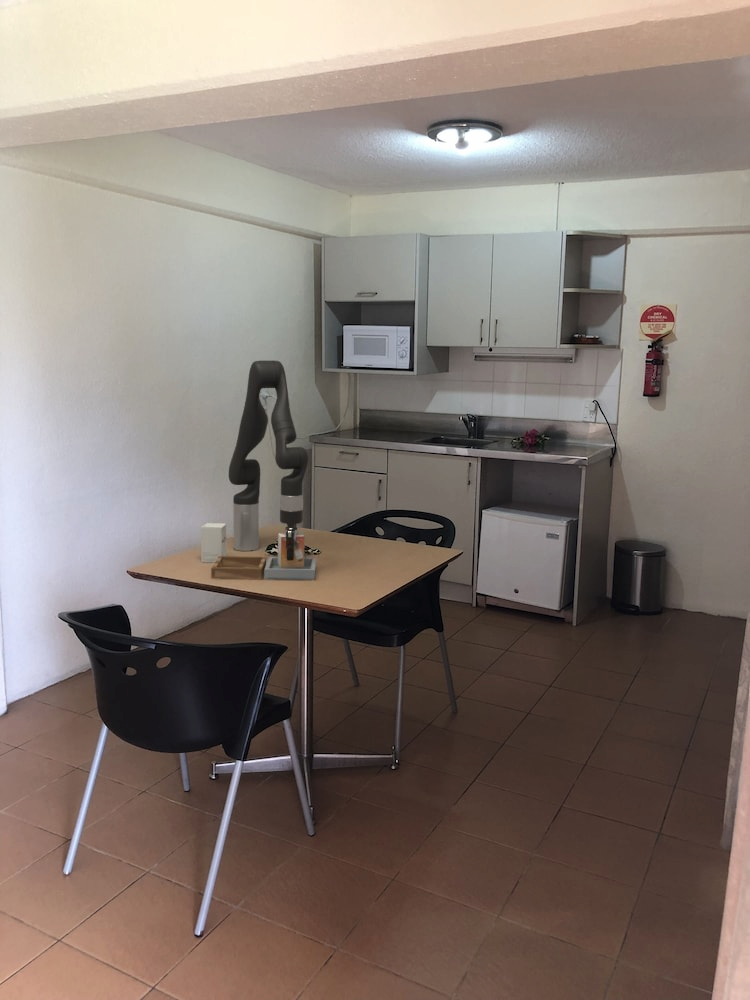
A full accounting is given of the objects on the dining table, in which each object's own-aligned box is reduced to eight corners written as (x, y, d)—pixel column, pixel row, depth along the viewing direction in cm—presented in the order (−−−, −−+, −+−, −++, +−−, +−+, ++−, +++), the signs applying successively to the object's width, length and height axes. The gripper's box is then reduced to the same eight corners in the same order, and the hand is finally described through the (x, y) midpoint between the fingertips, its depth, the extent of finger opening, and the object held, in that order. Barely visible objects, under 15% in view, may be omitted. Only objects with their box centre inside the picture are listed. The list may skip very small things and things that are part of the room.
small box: (280, 568, 270) (280, 536, 268) (277, 563, 276) (277, 532, 274) (304, 567, 273) (304, 535, 271) (301, 562, 278) (301, 532, 276)
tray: (269, 567, 282) (269, 557, 281) (316, 567, 283) (316, 557, 282) (264, 579, 266) (264, 569, 266) (314, 580, 267) (314, 570, 266)
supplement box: (221, 563, 285) (221, 527, 283) (200, 562, 286) (200, 526, 284) (226, 558, 293) (226, 523, 290) (206, 557, 293) (205, 522, 291)
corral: (219, 566, 282) (218, 556, 281) (266, 566, 282) (266, 557, 281) (211, 578, 266) (211, 568, 265) (261, 579, 266) (261, 569, 266)
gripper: (281, 503, 278) (281, 552, 281) (278, 512, 263) (277, 562, 266) (304, 504, 278) (303, 552, 281) (301, 512, 264) (301, 563, 267)
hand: (291, 557), depth 274 cm, fingers closed on small box, 6 cm apart
